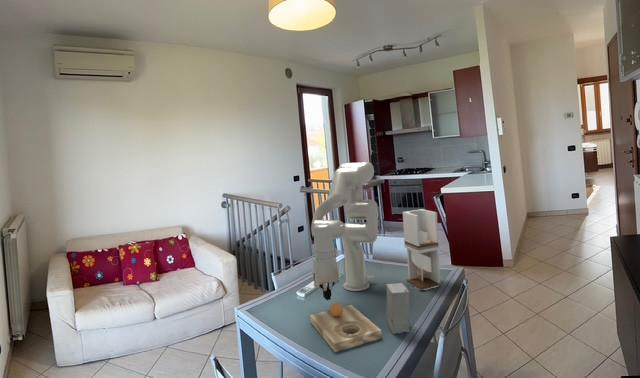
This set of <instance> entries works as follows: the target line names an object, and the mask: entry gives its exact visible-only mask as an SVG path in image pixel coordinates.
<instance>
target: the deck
mask: <svg viewBox="0 0 640 378" xmlns="http://www.w3.org/2000/svg"><path fill="white" fill-rule="evenodd" d="M342 307H343V313H342V314H341V315H340V316H333V315H332V314H331V312H330V309H329V310H325V311H321V312H318V313H314V314H310V315H309V317H310V323H311V325H312V326H313V327H314V328H315V330H316V331H317V332H318V333H319V335H320V336H321V337H322V338H323V339H324V340H325V343H326V344H328V345H329V347H330V348H331V350H333V352H334V353H338V352H341V351H344V350H348V349H351V348H355V347H357V346H361V345H363V344H367V343H370V342H374V341H377V340H381V339H383V336H382V329H380V328H379V326H377V325H376V324H375V323H373V322H372V321H371V320H370V319H369V318H367V317H366V316H365V315H364V314H363V313H361V312H360V311H359V310H358V308H356V307H355V306H353V305H352V304H348V305H344V306H342Z"/></svg>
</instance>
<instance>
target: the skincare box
mask: <svg viewBox="0 0 640 378" xmlns="http://www.w3.org/2000/svg"><path fill="white" fill-rule="evenodd" d="M385 288H386V321H385V322H386V324H387V327H388V328H389V330H390V332H391V334H392V335H395V334H396V333H397V334H403V333H402V332H407V333H409V332H410V291H409V289H408V288H407V286H405V285H404V283H402V282H400V283H399V282H398V283H387V284H386V285H385ZM408 331H409V332H408Z"/></svg>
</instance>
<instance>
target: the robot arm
mask: <svg viewBox="0 0 640 378" xmlns="http://www.w3.org/2000/svg"><path fill="white" fill-rule="evenodd" d="M374 168H375V167H374V165H373V164H372V163H371V162H370V161H362V162H346V163H345V162H344V163H342V164H340V165H339V166H338V169H337V168H336V170H335V171H334V172H333V176H332V180H331V185H330V189H329V194H328V196H327V197H326V199H324V200H323V201H322V202H321V203H320V204H319V205H318V206H317V208H316V209H315V211H314V213H313V217H312V219H311V220H312V221H311V226H310V227H311V228H310V229H311V230H310V231H311V235H312V236H313V243H314V256H315V257H313V260H312V275H311V276H312V282H313V287H314V288H320V289H322V295H323V298H324V300H326V301H330V300H331V298H332V290H333V287H334V286H335V285H336V284H338V283H339V282H340V280H339V279H340V274H339V273H340V272H339V266H338V260H337V258H336V256H335V254H338V251H337V249H335V248H334V240H336V239H337V240H338V239H340V238H341V241H342V245H343V254H344V269H345V271H344V272H345V280H346V281H345V282H344V283H343V285H342V287H343V288H344V289H345V290H346V291H351V292H361V291H364V290H365V291H366V289H369V287H370V281H374V280H375V279H376V277H375V275H369V274H367V275H366V259H365V252H364V248H363V245H362V244H373V243H375V242H376V241H377V239H378V231H379V229H378V228H379V207H378V206H379V205H378V203H377V201H375V200H373V199H364V188H363V187H362V186H364V185H366V184H367V183H368V182H369V181H371V180H372V179H373V177H374V174H375V169H374ZM343 206H344V215H345V217H346V218H347V219H348V220H357V221H350V222H349V221H348V222H345V223H344V222H343V221H341V220H337V219H334V220H333V219H325V217H326V215H328V214H329V213H330V212H332V211H334V210H336V209H338V208H340V207H343ZM360 220H366V222H358V221H360Z"/></svg>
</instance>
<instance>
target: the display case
mask: <svg viewBox="0 0 640 378" xmlns="http://www.w3.org/2000/svg"><path fill="white" fill-rule="evenodd" d="M402 222H403V224H402V225H403V239H404V248H405V249H406V253H407V255H406V256H407V272H408V276H407V277H408V278H407V279H406V284H407V283H408V284H410V285H412V286H414V287H416V288H417V289H419V290H424V289H427V288H431V287H434V286H438V285H440V286H441V274H440V273H441V272H440V253H439V251H440V250H439V247H440V246H439V229H438V228H439V227H438V212H436V211H432V210H427V209H424V208H421V209H414V210H413V209H412V210H407V211H402ZM408 284H407V285H408ZM410 285H409V286H410ZM412 286H411V287H412ZM417 289H416V290H417Z"/></svg>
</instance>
